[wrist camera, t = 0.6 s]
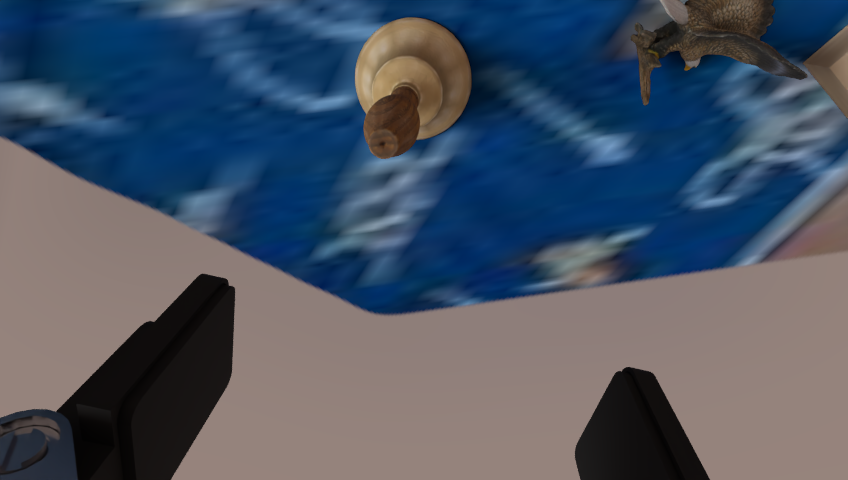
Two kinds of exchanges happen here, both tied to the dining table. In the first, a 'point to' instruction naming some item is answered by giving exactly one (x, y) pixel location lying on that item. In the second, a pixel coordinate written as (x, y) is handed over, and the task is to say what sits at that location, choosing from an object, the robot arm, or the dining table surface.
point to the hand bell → (410, 84)
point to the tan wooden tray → (832, 68)
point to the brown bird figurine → (712, 37)
